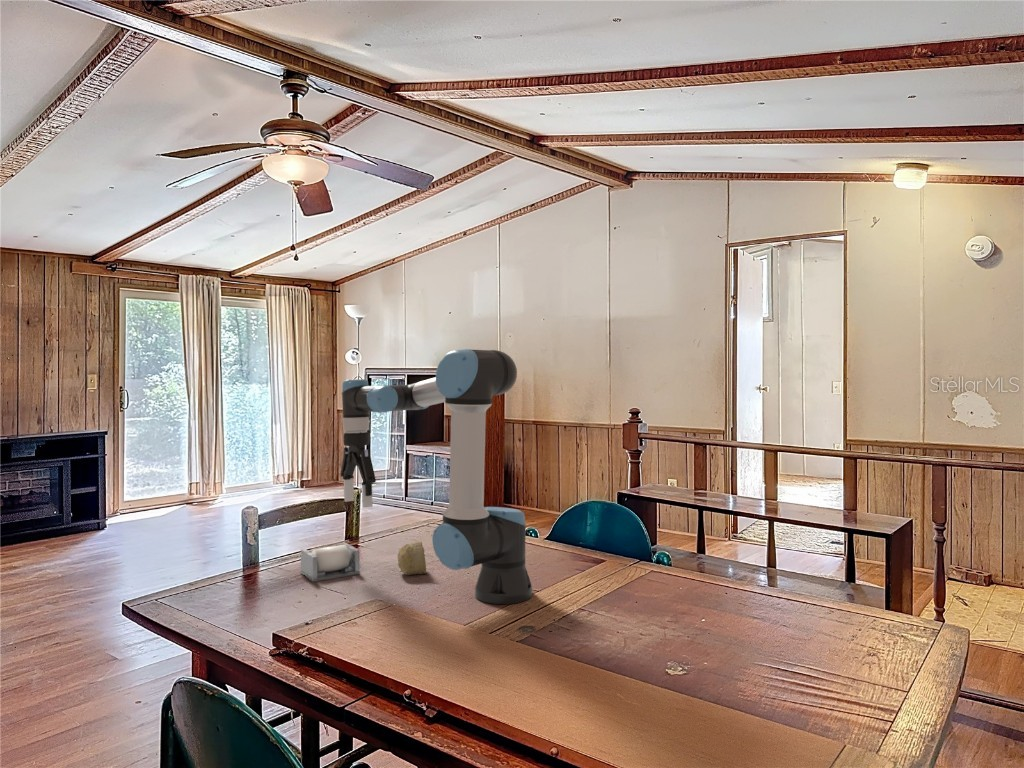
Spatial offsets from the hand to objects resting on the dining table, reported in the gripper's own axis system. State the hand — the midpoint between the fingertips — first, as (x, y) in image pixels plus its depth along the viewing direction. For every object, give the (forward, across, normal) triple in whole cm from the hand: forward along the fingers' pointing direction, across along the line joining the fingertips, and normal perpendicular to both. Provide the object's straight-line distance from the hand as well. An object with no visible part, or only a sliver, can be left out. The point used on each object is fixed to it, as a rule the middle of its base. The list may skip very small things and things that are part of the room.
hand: (358, 504), depth 208 cm
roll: (+16, +5, +7) cm, 18 cm away
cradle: (+20, +5, +7) cm, 22 cm away
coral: (+21, -9, -13) cm, 26 cm away
